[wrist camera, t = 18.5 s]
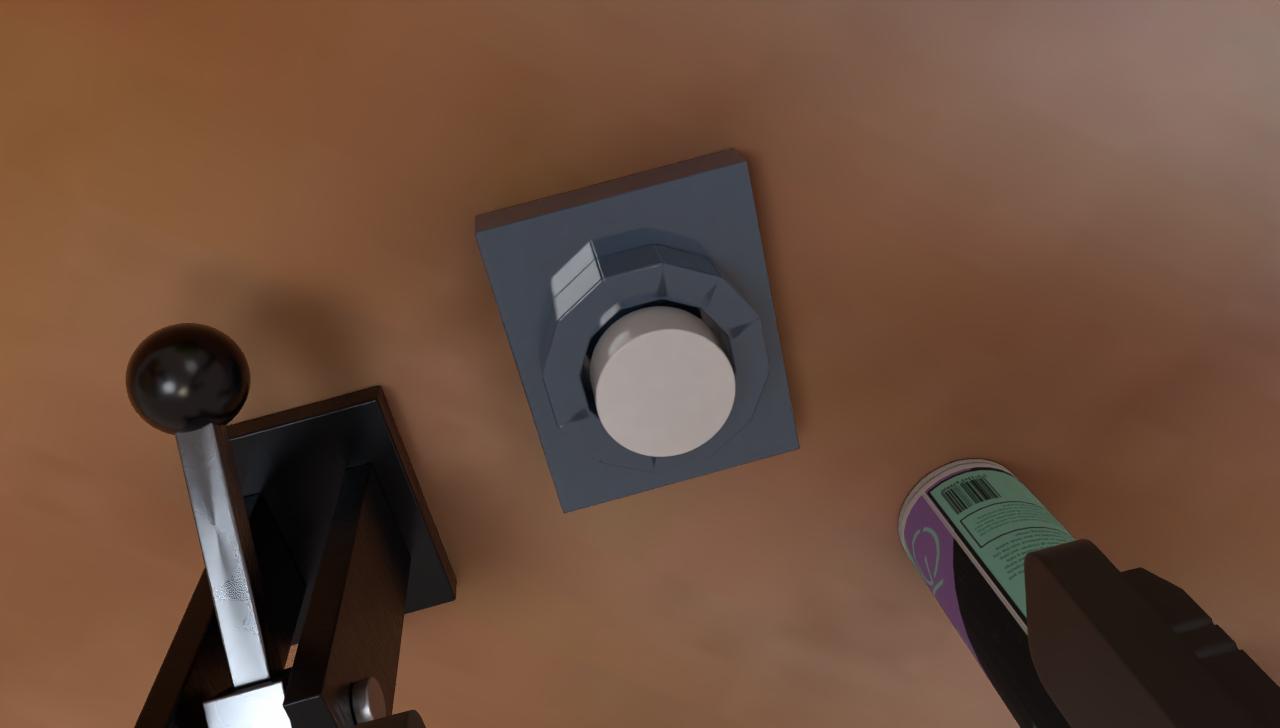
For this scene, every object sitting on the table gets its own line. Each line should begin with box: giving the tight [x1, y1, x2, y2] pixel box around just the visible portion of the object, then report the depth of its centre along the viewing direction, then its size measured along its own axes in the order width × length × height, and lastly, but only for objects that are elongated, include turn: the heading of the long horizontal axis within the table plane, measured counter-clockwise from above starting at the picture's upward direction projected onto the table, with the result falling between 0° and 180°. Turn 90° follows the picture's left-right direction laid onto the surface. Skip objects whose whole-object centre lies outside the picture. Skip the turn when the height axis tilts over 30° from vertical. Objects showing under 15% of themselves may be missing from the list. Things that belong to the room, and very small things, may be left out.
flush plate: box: [475, 148, 800, 513], centre depth 34 cm, size 11×9×4 cm
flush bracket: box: [134, 386, 457, 728], centre depth 31 cm, size 9×7×13 cm
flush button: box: [590, 306, 736, 457], centre depth 31 cm, size 4×4×2 cm
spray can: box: [898, 459, 1076, 728], centre depth 32 cm, size 6×6×20 cm
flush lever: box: [126, 323, 294, 728], centre depth 27 cm, size 13×3×3 cm, turn 13°
